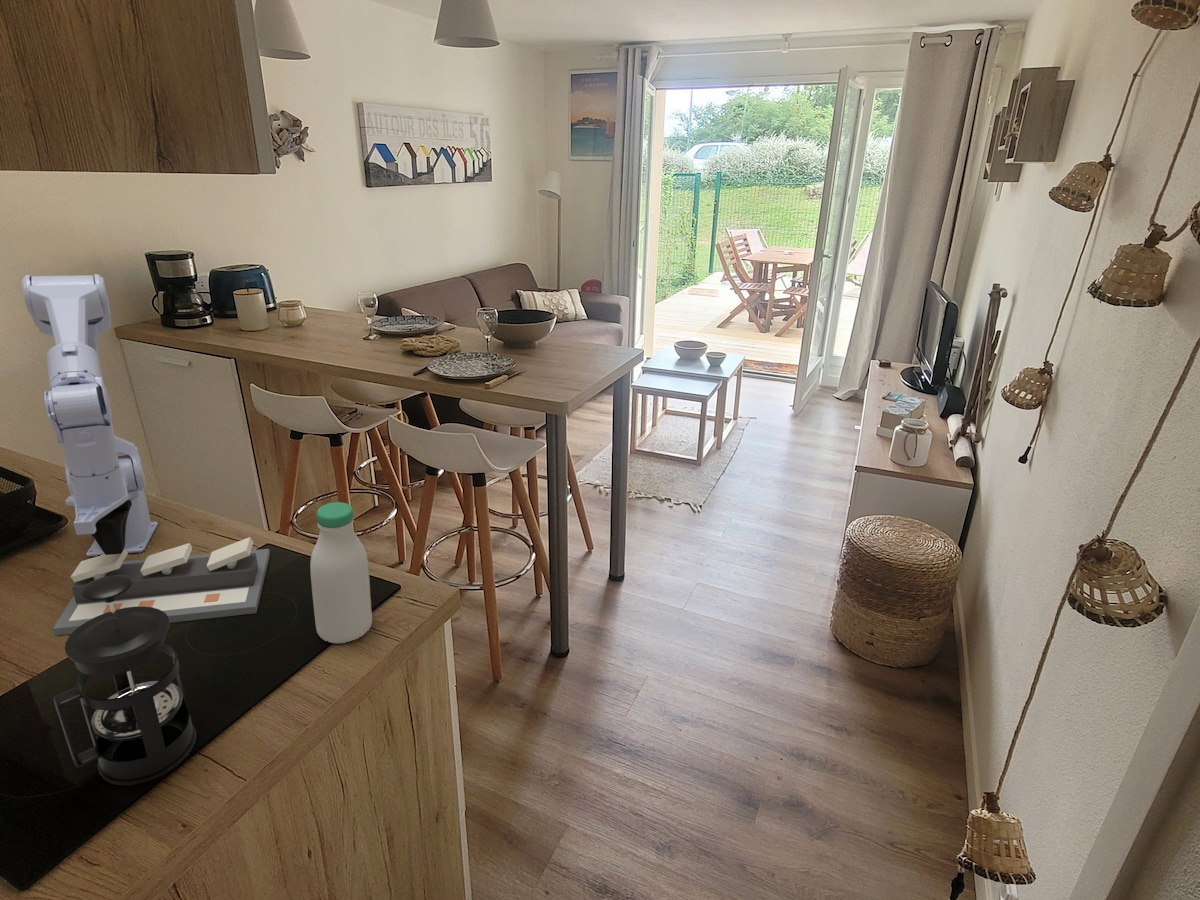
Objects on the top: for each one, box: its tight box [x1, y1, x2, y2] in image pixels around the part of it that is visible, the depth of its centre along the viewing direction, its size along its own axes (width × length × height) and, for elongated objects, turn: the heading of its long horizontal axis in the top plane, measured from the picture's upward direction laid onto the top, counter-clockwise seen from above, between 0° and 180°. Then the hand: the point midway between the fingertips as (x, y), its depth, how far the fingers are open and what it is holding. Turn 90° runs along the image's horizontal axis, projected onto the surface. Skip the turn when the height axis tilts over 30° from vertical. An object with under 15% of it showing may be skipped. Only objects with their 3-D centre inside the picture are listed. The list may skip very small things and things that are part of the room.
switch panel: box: [52, 548, 271, 637], centre depth 101 cm, size 16×25×4 cm, turn 108°
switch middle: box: [140, 542, 193, 576], centre depth 100 cm, size 4×6×2 cm, turn 108°
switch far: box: [207, 536, 254, 571], centre depth 102 cm, size 4×6×2 cm, turn 108°
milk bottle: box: [309, 501, 373, 644], centre depth 93 cm, size 8×8×20 cm
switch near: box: [70, 548, 129, 583], centre depth 97 cm, size 4×6×2 cm, turn 108°
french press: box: [53, 575, 197, 787], centre depth 71 cm, size 12×9×23 cm
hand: (114, 551), depth 97 cm, fingers closed
